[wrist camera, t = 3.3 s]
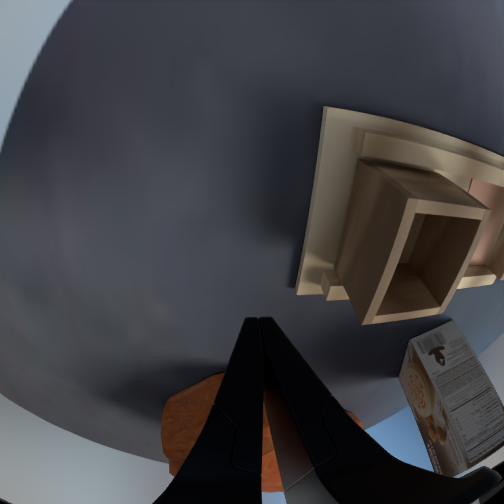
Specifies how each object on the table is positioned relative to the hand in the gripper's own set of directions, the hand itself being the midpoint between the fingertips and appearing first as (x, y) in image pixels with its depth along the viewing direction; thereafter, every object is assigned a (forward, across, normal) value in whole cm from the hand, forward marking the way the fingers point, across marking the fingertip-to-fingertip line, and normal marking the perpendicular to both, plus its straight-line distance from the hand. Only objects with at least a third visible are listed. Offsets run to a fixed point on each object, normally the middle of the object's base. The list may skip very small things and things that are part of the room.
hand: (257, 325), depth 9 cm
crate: (+8, -9, 0) cm, 12 cm away
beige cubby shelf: (+8, -14, 0) cm, 16 cm away
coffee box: (+9, -22, +17) cm, 29 cm away
